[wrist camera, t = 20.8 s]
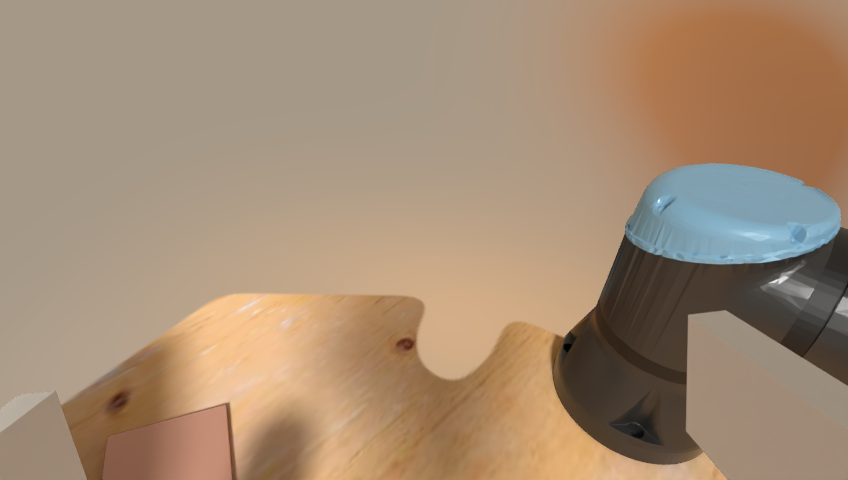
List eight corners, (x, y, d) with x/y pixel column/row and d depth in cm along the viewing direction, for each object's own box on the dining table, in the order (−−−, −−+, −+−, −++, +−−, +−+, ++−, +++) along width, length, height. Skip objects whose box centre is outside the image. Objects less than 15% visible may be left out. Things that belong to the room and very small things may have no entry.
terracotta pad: (226, 408, 42) (225, 404, 42) (235, 509, 36) (233, 505, 35) (109, 440, 39) (107, 436, 39) (95, 556, 33) (92, 553, 32)
